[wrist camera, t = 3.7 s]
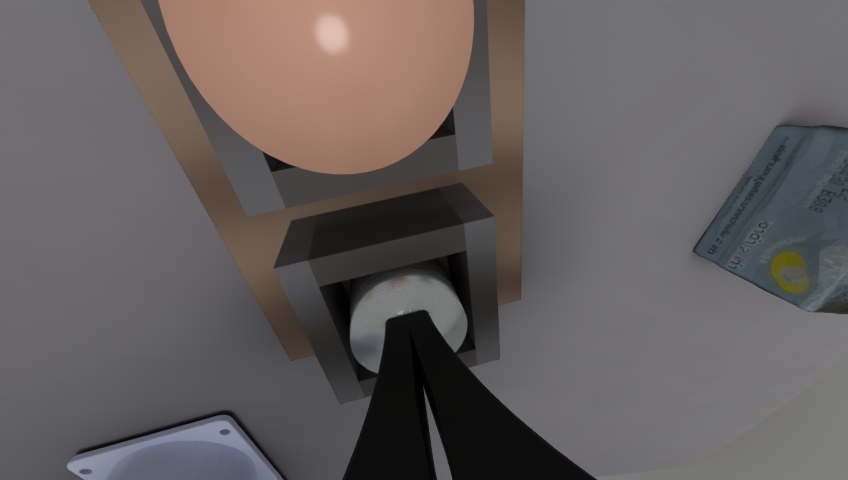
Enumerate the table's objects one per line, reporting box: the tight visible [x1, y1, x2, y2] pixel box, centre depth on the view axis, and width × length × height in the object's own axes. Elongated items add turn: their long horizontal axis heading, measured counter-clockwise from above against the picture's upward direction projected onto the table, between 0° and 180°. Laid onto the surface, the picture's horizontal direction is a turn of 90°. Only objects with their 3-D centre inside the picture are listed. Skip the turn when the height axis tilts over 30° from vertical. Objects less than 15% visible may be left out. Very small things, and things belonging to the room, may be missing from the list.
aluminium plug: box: [350, 257, 467, 373], centre depth 12 cm, size 4×4×4 cm
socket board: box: [88, 0, 525, 404], centre depth 11 cm, size 16×12×4 cm
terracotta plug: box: [158, 0, 474, 174], centre depth 6 cm, size 4×4×4 cm
